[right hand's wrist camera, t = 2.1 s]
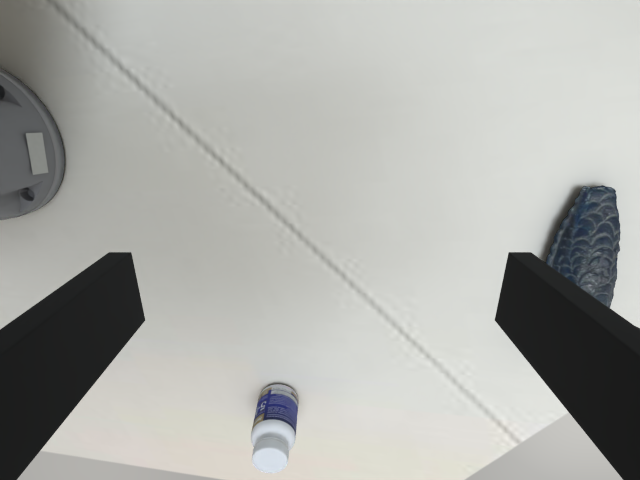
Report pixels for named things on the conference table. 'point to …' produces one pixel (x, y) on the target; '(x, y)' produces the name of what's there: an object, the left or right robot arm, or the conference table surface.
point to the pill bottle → (274, 428)
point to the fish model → (589, 243)
